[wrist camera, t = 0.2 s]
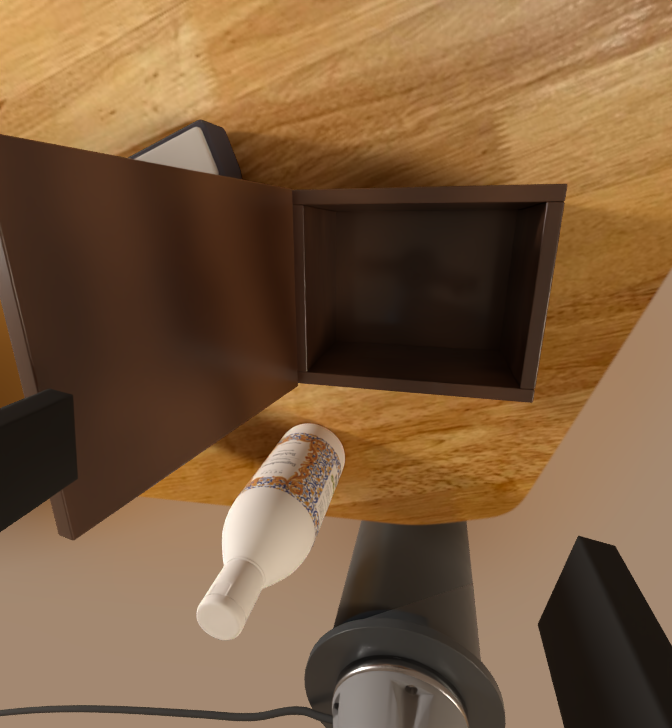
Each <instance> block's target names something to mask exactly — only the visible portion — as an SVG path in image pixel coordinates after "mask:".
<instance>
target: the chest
mask: <svg viewBox="0 0 672 728" xmlns="http://www.w3.org/2000/svg"><path fill="white" fill-rule="evenodd" d="M566 191H567V184H532V185H487V186H441V187H396V188H350V189H305V190H292V204H293V239H294V273H295V307H296V342H297V376H298V383H304V384H316V385H328V386H340V387H352V388H364V389H376V390H388V391H400V392H411V393H423V394H435V395H447V396H459V397H471V398H483V399H495V400H507V401H518V402H530V403H532V402H533V398H534V392H535V390H534V389H535V385H536V379H537V373H538V367H539V360H540V354H541V348H542V341H543V335H544V329H545V323H546V316H547V310H548V304H549V297H550V291H551V285H552V278H553V272H554V266H555V260H556V253H557V247H558V241H559V234H560V228H561V222H562V216H563V209H564V201H565V197H566Z"/></svg>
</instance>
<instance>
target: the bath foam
mask: <svg viewBox="0 0 672 728" xmlns="http://www.w3.org/2000/svg"><path fill="white" fill-rule="evenodd" d="M344 464H345V453H344V449H343V446H342V444H341V442H340V440H339V439H338V438H337V437H336V435H335V434H334V433H332V432H331V431H330V430H328V429H327V428H325V427H323V426H320V425H317V424H309V423H308V424H300V425H297V426H295V427H293V428H291V429H290V430H289V431H287V432H286V434H285V435H284V436H283V437H282V439H281V440H280V441H279V442H278V444H277V445H276V446H275V448H274V449H273V450H272V452H271V453H270V454H269V456H268V457H267V458H266V460H265V461H264V462H263V464H262V465H261V466H260V468H259V469H258V470H257V472H256V473H255V474H254V476H253V477H252V478H251V480H250V481H249V482H248V484H247V485H246V486H245V487H244V489H243V490H242V491H241V493H240V494H239V495H238V497H237V498H236V499H235V501H234V503H233V505H232V506H231V508H230V510H229V512H228V515H227V517H226V520H225V524H224V528H223V534H222V552H223V561H224V567H223V569H222V570H221V572H220V573H219V575H218V576H217V578H216V579H215V581H214V583H213V584H212V586H211V587H210V589H209V590H208V592H207V593H206V595H205V597H204V598H203V600H202V601H201V603H200V604H199V606H198V609H197V614H196V615H197V620H198V623H199V625H200V626H201V628H202V629H203V630H204V631H205V632H206V633H207V634H209V635H210V636H212V637H214V638H217V639H220V640H231V639H234V638H236V637H237V636H238V635H239V634H240V633H241V631H242V629H243V627H244V625H245V623H246V621H247V619H248V617H249V615H250V613H251V611H252V609H253V607H254V605H255V603H256V601H257V598H258V597H259V594H260V592H261V590H262V589H263V588H266V587H268V586H270V585H273V584H275V583H277V582H279V581H281V580H283V579H284V578H286V577H287V576H289V575H290V574H292V573H293V572H294V571H295V570H296V569H297V568H298V567H299V566H300V565H301V563H302V562H303V561H304V560H305V558H306V556H307V555H308V554H309V552H310V550H311V548H312V546H313V544H314V542H315V539H316V536H317V534H318V532H319V529H320V527H321V524H322V521H323V519H324V516H325V514H326V511H327V509H328V506H329V504H330V501H331V499H332V496H333V494H334V491H335V489H336V486H337V484H338V481H339V478H340V475H341V473H342V470H343V468H344Z"/></svg>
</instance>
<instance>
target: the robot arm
mask: <svg viewBox="0 0 672 728" xmlns="http://www.w3.org/2000/svg"><path fill="white" fill-rule="evenodd" d="M77 479H78V470H77V453H76V436H75V419H74V402H73V395H72V394H68V393H64V392H61V391H57V390H54V389H50V388H49V389H47V390H44V391H42V392H39V393H37V394H34V395H32V396H29V397H27V398H24V399H22V400H19V401H17V402H14V403H12V404H9V405H7V406H5V407H2V408H0V532H1V531H2V530H4V529H6V528H7V527H8V526H10V525H11V524H13V523H14V522H16V521H17V520H19V519H20V518H22V517H23V516H24V515H26V514H27V513H29V512H30V511H32V510H33V509H35V508H36V507H38V506H39V505H40V504H42V503H43V502H45V501H46V500H48V499H49V498H51V497H52V496H54V495H55V494H56V493H58V492H59V491H61V490H62V489H64V488H65V487H67V486H68V485H70V484H71V483H73V482H74V481H75V480H77ZM538 627H539V631H540V635H541V639H542V643H543V647H544V650H545V654H546V658H547V662H548V666H549V670H550V674H551V678H552V682H553V685H554V689H555V693H556V697H557V701H558V705H559V709H560V713H561V716H562V720H563V724H564V728H672V645H671V644H670V642H669V640H668V638H667V637H666V635H665V633H664V631H663V630H662V628H661V626H660V624H659V623H658V621H657V619H656V617H655V616H654V614H653V612H652V610H651V608H650V607H649V605H648V603H647V602H646V600H645V598H644V596H643V594H642V593H641V591H640V589H639V587H638V586H637V584H636V582H635V580H634V578H633V577H632V575H631V573H630V571H629V570H628V568H627V566H626V564H625V563H624V561H623V559H622V557H621V556H620V554H619V552H618V550H617V549H616V547H615V546H613V545H610V544H606V543H603V542H599V541H595V540H592V539H588V538H584V537H581V536H578V537H577V539H576V542H575V544H574V546H573V548H572V550H571V553H570V555H569V557H568V559H567V561H566V564H565V566H564V568H563V570H562V573H561V575H560V577H559V579H558V581H557V583H556V585H555V588H554V590H553V592H552V594H551V596H550V599H549V601H548V603H547V605H546V607H545V610H544V612H543V614H542V616H541V619H540V621H539V623H538ZM47 712H48V713H50V712H99V713H126V714H127V713H128V714H144V715H161V716H176V717H191V718H206V719H218V720H229V721H258V720H265V719H270V718H274V717H279V716H285V715H305V716H308V717H311V718H313V719H316V720H319V721H322V722H325V723H329V724H333V728H469V720H468V711H467V707H466V704H465V701H464V700H463V698H462V696H461V694H460V693H459V691H458V690H457V689H456V688H455V686H454V685H453V684H452V683H451V682H450V681H449V680H448V679H446V678H445V677H444V676H443V675H441V674H440V673H438V672H437V671H435V670H434V669H432V668H430V667H429V666H426V665H424V664H422V663H420V662H417V661H415V660H412V659H408V658H404V657H400V656H394V655H372V656H367V657H363V658H360V659H357V660H355V661H353V662H351V663H350V664H348V665H347V666H346V667H345V668H344V669H343V670H342V671H341V672H340V674H339V676H338V678H337V681H336V685H335V689H334V694H333V698H332V715H329V714H325V713H321V712H318V711H315V710H313V709H310V708H307V707H298V706H294V707H284V708H279V709H275V710H270V711H266V712H259V713H227V712H215V711H202V710H184V709H168V708H150V707H128V706H97V705H76V706H75V705H73V706H44V707H43V706H42V707H27V708H17V709H7V710H0V716H6V715H17V714H29V713H47Z"/></svg>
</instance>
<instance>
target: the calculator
mask: <svg viewBox="0 0 672 728" xmlns="http://www.w3.org/2000/svg"><path fill="white" fill-rule="evenodd" d="M128 158H130V159H135V160H141V161H146V162H151V163H157V164H162V165H167V166H173V167H178V168H183V169H189V170H194V171H199V172H205V173H210V174H215V175H221V176H226V177H231V178H237V179H242V177H241V171H240V168H239V165H238V163H237V160H236V158H235V155H234V152H233V150H232V147H231V145H230V142H229V140H228V137H227V134H226V132H225V130H224V129H223V128H222V127H219V126H217V125H214V124H211V123H209V122H206V121H204V120H197V121H195V122H193V123H192V124H190V125H188V126H186V127H184V128H182V129H180V130H179V131H177V132H175V133H173V134H171V135H169V136H167V137H166V138H164V139H162V140H160V141H158V142H156V143H154V144H153V145H151V146H149V147H147V148H145V149H143V150H141V151H139V152H138V153H136V154H134V155H132V156H130V157H128Z"/></svg>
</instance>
